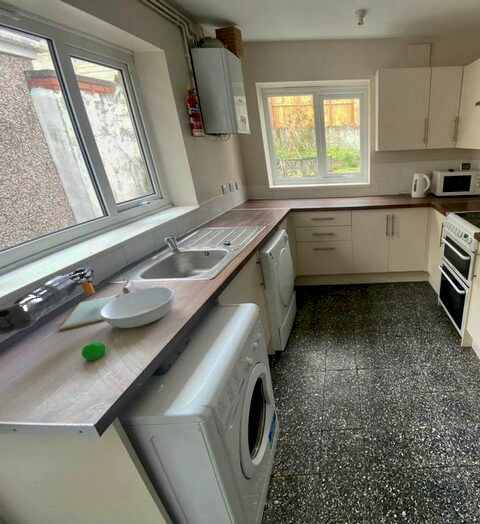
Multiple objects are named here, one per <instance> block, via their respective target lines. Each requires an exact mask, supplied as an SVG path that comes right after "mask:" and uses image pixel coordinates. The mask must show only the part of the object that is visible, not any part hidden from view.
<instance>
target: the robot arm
mask: <svg viewBox="0 0 480 524" xmlns="http://www.w3.org/2000/svg"><path fill="white" fill-rule="evenodd" d="M94 273H95V271H94V269H93V267H88V268H86V269H85V271H83V272H81V273H76V272H75V271H73V272H69V273H63V274H61V275H55V276H52V277H50V278H48V279H47V280H44V281H43V282H41V283H39V284H38V285H36V286H34V287H33V288H32V289H30V290H28V291H27V292H25V293H23V294H21V295H20V296H18V297H17V298H16V299H15V300H14V301H13V303H12V305H9V306H8V305H7V306H2V307H0V336H2V335H6V334H11V333H15V332H20V331H23V330H26V329H28V328H30V327H32V326H34V324H36V323H37V322H38V320H39V319H40V318H41V316H42V315H43V314H44V313H45V312H47V311H48V310H49V309H51V308H53V307H55V306H56V305H58V304H60V303H61V302H63V301H64V300H66V299H67V298H69V297H70V296H72V295H73V294H74V293H75V291H76V289H77V287H78V286H82V285H81V284H82V283H83V282H86V281H87V282H88V283H91V284H92V283H93V282H94V275H93V274H94ZM83 275H84V277H83Z"/></svg>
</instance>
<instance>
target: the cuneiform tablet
mask: <svg viewBox="0 0 480 524" xmlns="http://www.w3.org/2000/svg"><path fill="white" fill-rule="evenodd" d="M122 281H123V284H124V285H123V287H122V293H123V295H125V294H127V293H130V292H133V291H137V289H136V285H135V283H134V281H133V279H131V278H127V279H126V280H125V278H122Z"/></svg>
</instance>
